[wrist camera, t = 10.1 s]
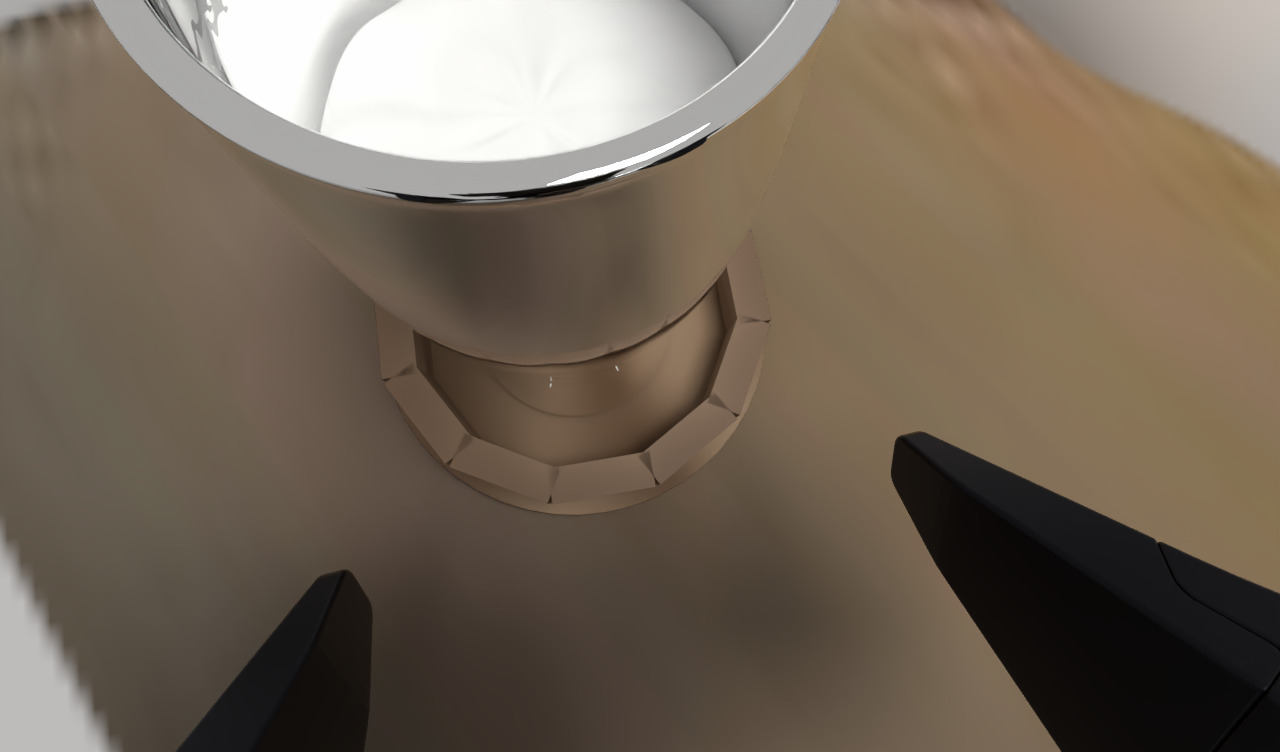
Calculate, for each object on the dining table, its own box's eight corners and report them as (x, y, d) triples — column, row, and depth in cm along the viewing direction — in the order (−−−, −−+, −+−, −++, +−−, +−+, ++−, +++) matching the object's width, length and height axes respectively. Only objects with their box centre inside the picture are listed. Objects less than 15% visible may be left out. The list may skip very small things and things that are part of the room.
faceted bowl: (546, 598, 19) (536, 614, 16) (311, 296, 20) (272, 269, 18) (836, 350, 21) (866, 331, 18) (605, 90, 22) (604, 42, 20)
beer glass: (423, 298, 20) (-138, -289, 5) (600, 185, 21) (583, -583, 6) (547, 476, 19) (323, 421, 4) (725, 348, 20) (1069, -69, 5)
